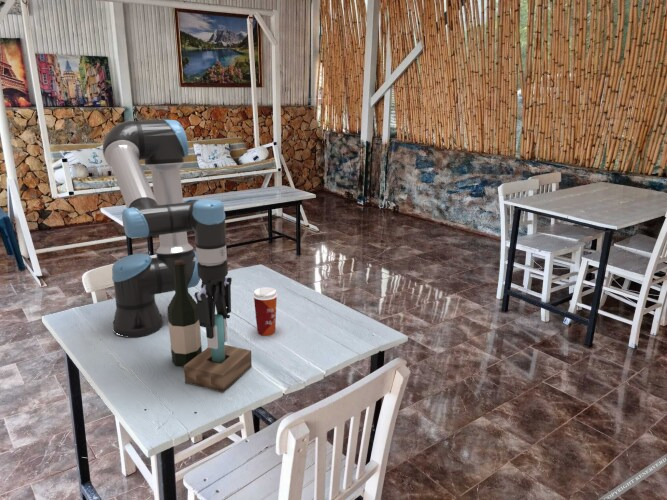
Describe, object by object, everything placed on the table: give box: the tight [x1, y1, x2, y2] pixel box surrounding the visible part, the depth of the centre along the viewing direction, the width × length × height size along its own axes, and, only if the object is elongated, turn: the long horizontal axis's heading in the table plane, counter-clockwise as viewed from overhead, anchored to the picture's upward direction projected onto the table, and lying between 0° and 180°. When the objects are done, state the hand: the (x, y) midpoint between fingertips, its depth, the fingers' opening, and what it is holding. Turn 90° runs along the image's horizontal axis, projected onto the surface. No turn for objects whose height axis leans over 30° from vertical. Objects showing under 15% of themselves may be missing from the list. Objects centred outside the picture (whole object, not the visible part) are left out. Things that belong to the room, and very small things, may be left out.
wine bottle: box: [166, 260, 203, 368], centre depth 146 cm, size 8×8×30 cm
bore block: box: [183, 344, 253, 394], centre depth 142 cm, size 12×14×5 cm
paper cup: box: [252, 286, 279, 337], centre depth 165 cm, size 8×8×14 cm
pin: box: [211, 313, 226, 364], centre depth 140 cm, size 4×4×13 cm
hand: (217, 343), depth 140 cm, fingers closed on pin, 3 cm apart
